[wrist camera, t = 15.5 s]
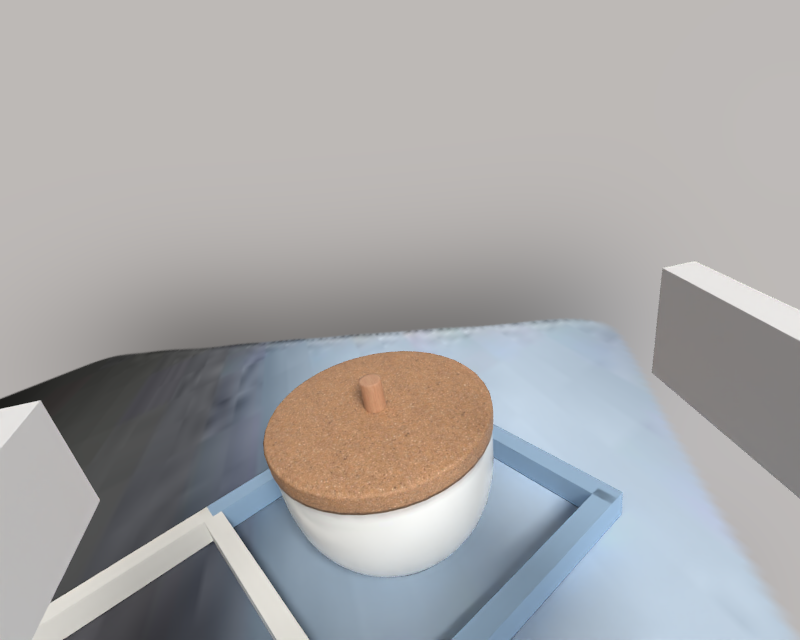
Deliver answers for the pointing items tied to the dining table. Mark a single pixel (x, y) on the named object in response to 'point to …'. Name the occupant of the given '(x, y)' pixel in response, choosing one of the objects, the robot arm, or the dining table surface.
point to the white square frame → (159, 559)
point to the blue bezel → (541, 573)
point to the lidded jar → (385, 460)
